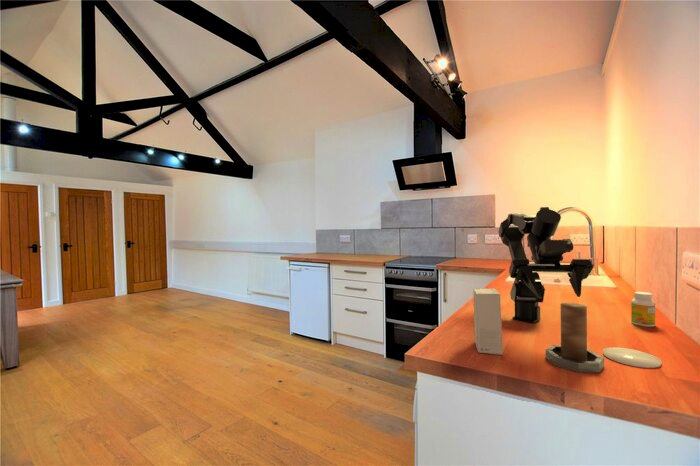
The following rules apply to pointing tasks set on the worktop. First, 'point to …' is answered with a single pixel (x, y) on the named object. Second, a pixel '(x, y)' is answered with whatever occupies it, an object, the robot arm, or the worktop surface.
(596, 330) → the worktop surface
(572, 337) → the walnut peg
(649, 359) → the cream disc
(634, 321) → the supplement bottle
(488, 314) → the skincare box
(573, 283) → the robot arm
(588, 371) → the steel ring
